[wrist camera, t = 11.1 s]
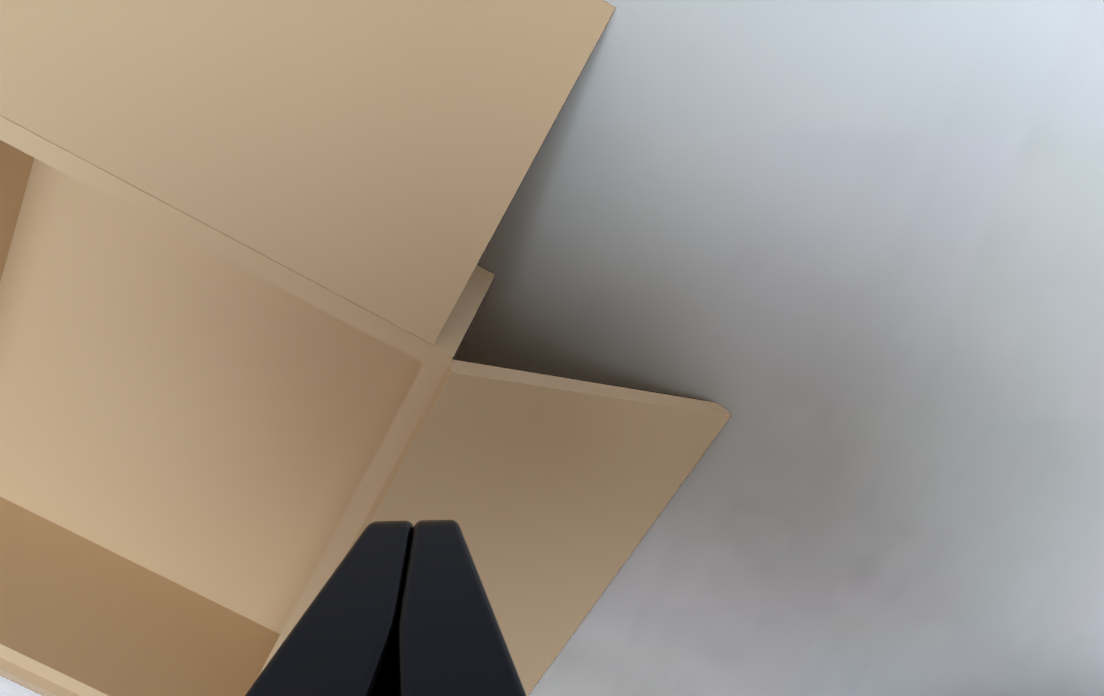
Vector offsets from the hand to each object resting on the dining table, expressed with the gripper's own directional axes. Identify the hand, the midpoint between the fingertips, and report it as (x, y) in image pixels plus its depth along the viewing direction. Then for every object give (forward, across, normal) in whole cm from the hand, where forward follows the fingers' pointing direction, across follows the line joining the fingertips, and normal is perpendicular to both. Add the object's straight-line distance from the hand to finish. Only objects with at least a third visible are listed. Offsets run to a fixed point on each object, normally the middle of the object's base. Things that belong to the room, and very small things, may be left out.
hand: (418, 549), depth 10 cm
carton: (+11, +4, +8) cm, 14 cm away
